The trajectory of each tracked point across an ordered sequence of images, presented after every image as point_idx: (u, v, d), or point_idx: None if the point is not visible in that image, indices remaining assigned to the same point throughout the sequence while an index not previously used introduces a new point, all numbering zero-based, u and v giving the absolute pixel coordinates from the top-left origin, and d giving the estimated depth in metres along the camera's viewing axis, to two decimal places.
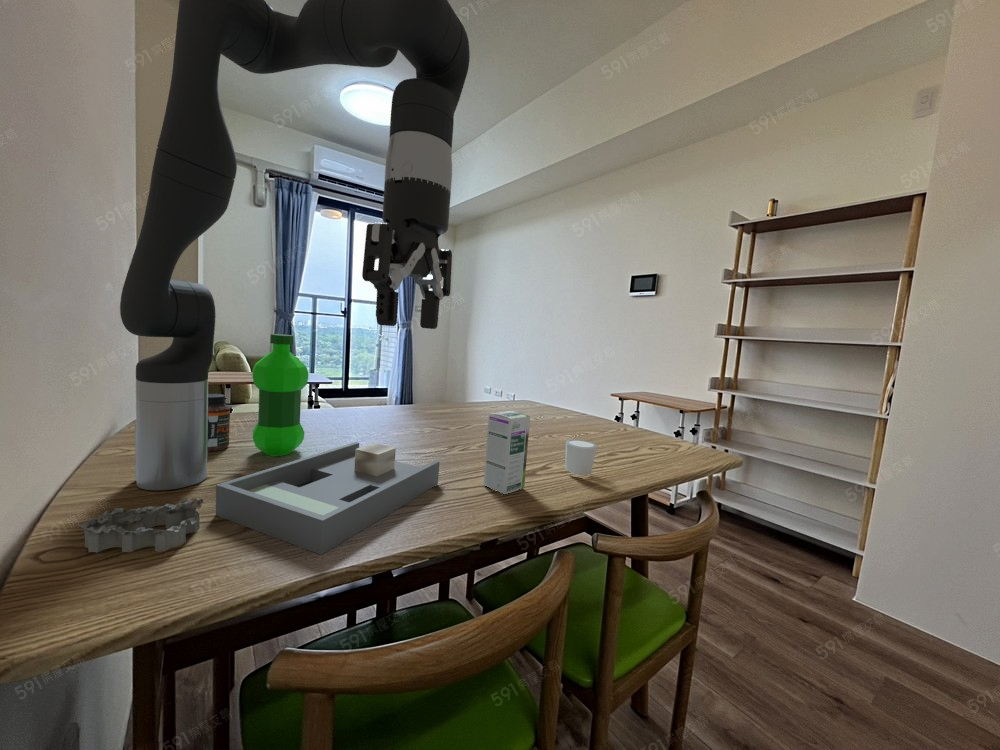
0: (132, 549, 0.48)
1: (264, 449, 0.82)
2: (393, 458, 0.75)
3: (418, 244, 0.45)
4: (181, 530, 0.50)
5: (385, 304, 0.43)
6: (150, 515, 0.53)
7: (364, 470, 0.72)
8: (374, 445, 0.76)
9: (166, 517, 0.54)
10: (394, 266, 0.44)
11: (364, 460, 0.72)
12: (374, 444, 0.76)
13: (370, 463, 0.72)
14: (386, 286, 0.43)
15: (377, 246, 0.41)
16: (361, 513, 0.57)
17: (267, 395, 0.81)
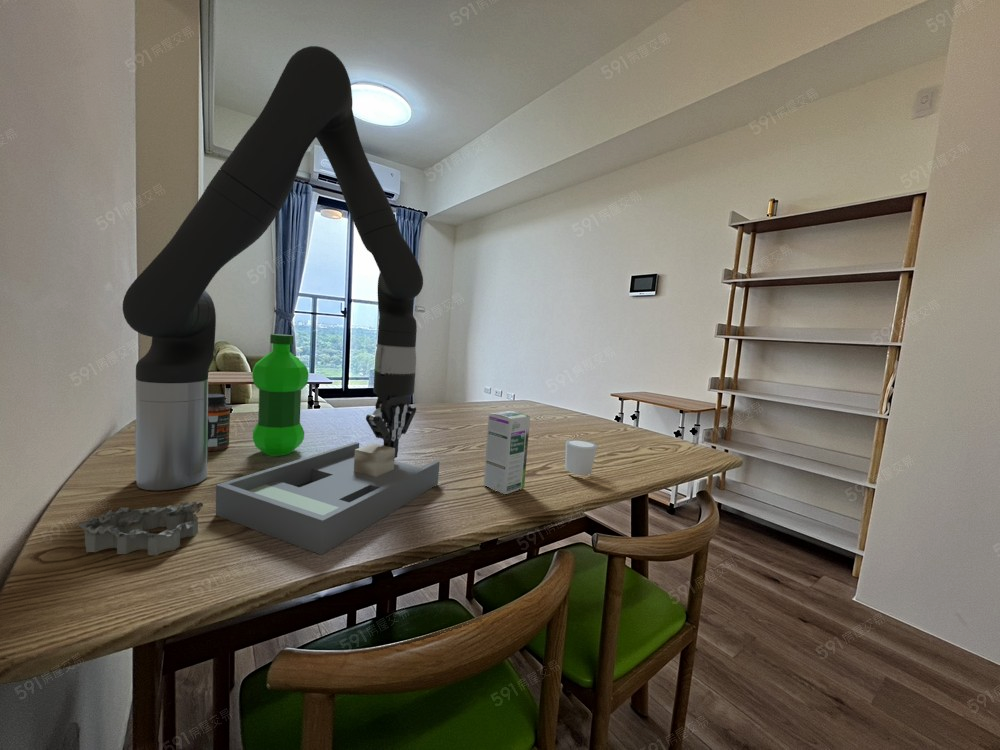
0: (126, 552, 0.48)
1: (264, 449, 0.82)
2: (392, 458, 0.75)
3: (394, 410, 0.75)
4: (174, 534, 0.49)
5: None
6: (152, 516, 0.53)
7: (363, 470, 0.72)
8: (374, 445, 0.75)
9: (167, 519, 0.53)
10: (388, 427, 0.76)
11: (364, 460, 0.72)
12: (373, 444, 0.76)
13: (369, 463, 0.71)
14: (389, 439, 0.76)
15: (377, 428, 0.73)
16: (361, 513, 0.57)
17: (267, 395, 0.81)
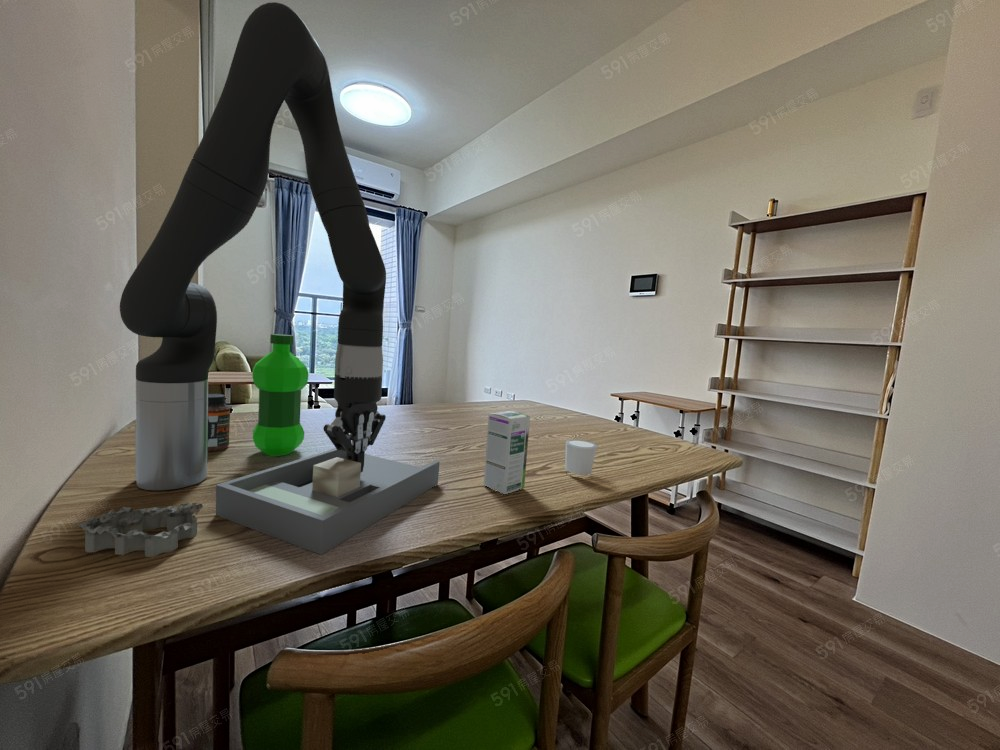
0: (124, 552, 0.47)
1: (264, 449, 0.82)
2: (358, 475, 0.66)
3: (358, 418, 0.66)
4: (171, 536, 0.49)
5: None
6: (153, 517, 0.53)
7: (323, 490, 0.63)
8: (337, 460, 0.66)
9: (167, 520, 0.53)
10: (351, 438, 0.67)
11: (323, 478, 0.62)
12: (336, 458, 0.67)
13: (330, 481, 0.62)
14: (352, 452, 0.67)
15: (337, 440, 0.64)
16: (361, 513, 0.57)
17: (267, 395, 0.81)
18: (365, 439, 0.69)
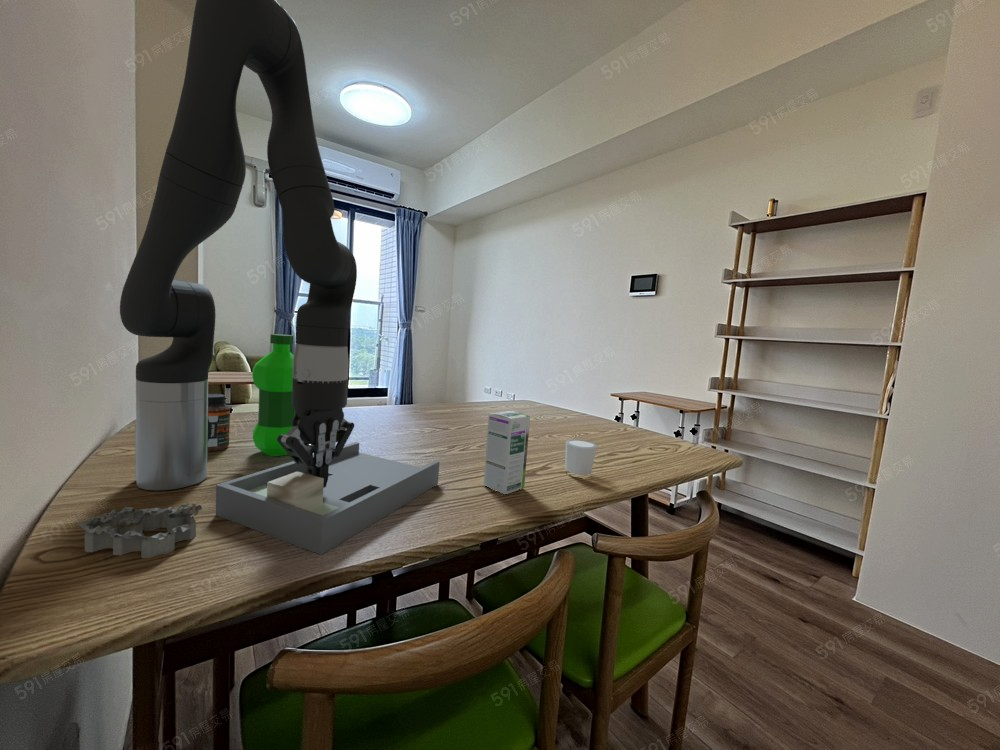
0: (121, 553, 0.47)
1: (264, 449, 0.82)
2: (320, 492, 0.58)
3: (318, 428, 0.58)
4: (168, 537, 0.48)
5: None
6: (154, 517, 0.53)
7: None
8: (296, 475, 0.58)
9: (167, 521, 0.53)
10: (311, 450, 0.59)
11: (279, 497, 0.55)
12: (296, 473, 0.59)
13: (286, 501, 0.54)
14: (312, 465, 0.60)
15: (293, 452, 0.56)
16: (361, 513, 0.57)
17: (267, 395, 0.81)
18: (328, 450, 0.62)
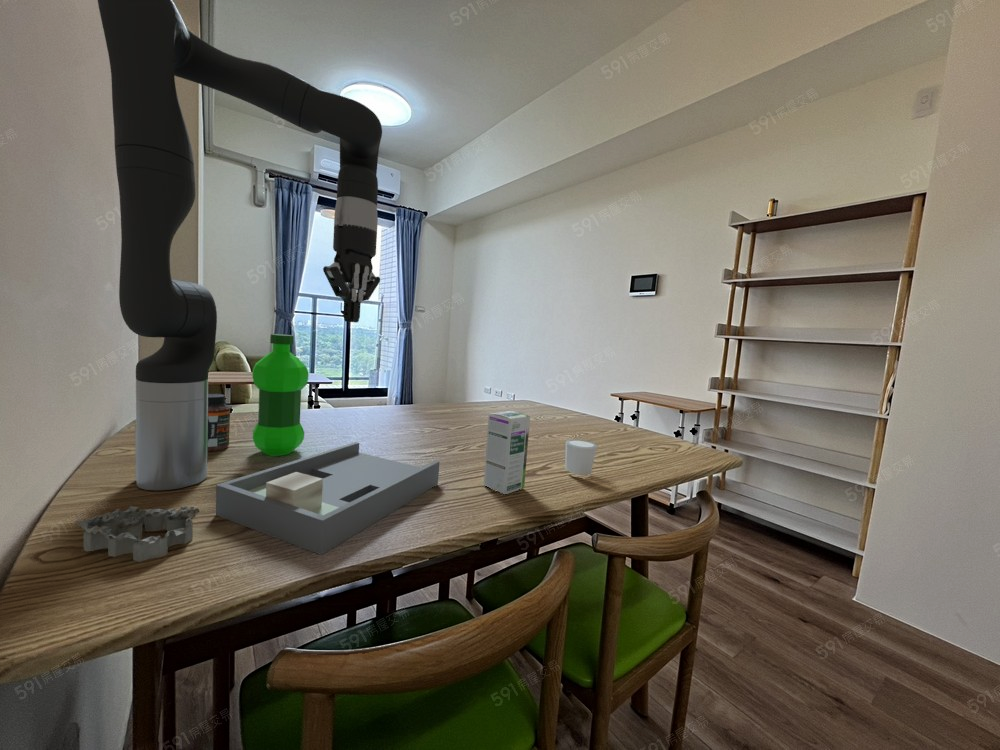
0: (115, 554, 0.47)
1: (264, 449, 0.82)
2: (319, 492, 0.58)
3: (354, 266, 0.73)
4: (160, 541, 0.47)
5: (348, 309, 0.75)
6: (155, 518, 0.53)
7: None
8: (295, 476, 0.58)
9: (167, 522, 0.52)
10: (348, 286, 0.75)
11: (278, 497, 0.55)
12: (295, 473, 0.59)
13: (284, 501, 0.54)
14: (349, 299, 0.75)
15: (335, 281, 0.71)
16: (361, 513, 0.57)
17: (267, 395, 0.81)
18: (361, 291, 0.77)
